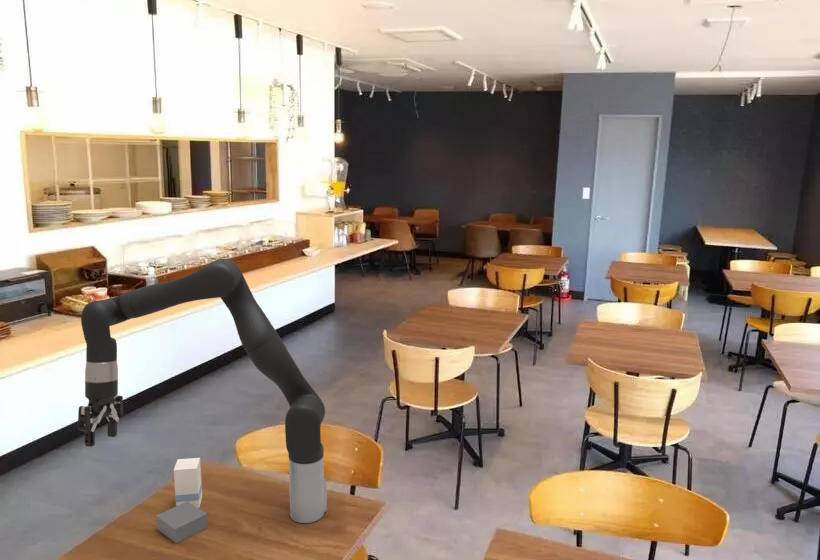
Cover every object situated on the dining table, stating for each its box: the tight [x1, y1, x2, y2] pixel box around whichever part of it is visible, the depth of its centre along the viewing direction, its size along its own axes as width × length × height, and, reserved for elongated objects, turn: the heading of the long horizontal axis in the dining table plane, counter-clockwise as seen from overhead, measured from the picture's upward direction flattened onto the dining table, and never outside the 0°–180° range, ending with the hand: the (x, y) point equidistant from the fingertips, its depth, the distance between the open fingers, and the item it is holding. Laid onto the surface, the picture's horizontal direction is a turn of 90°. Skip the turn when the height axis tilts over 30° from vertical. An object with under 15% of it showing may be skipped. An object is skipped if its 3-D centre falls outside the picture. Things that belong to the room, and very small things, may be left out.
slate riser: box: [155, 501, 208, 544], centre depth 165 cm, size 9×9×4 cm
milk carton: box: [173, 457, 203, 509], centre depth 175 cm, size 6×6×12 cm
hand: (101, 441), depth 162 cm, fingers open, 8 cm apart
